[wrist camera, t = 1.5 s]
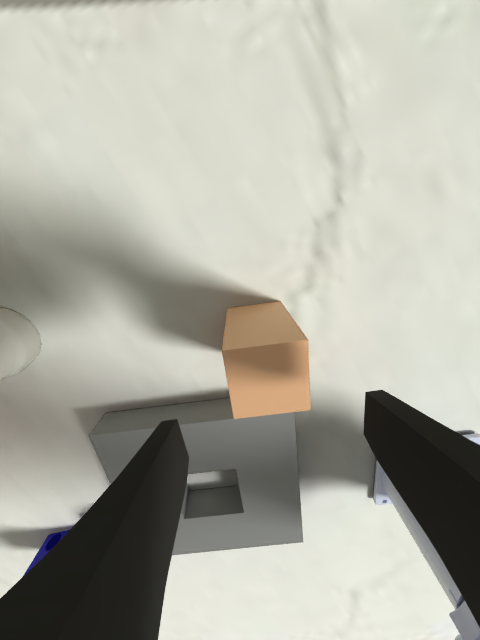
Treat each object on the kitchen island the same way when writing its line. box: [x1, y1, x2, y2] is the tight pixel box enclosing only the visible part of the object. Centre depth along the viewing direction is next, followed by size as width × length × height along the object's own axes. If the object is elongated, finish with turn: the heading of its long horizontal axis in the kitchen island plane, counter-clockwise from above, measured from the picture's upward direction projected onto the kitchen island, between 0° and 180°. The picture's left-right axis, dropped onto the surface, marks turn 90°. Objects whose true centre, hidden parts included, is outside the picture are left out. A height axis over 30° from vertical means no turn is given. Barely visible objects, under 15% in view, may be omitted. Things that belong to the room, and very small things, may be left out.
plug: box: [222, 301, 311, 419], centre depth 15 cm, size 4×4×7 cm
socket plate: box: [89, 398, 303, 555], centre depth 21 cm, size 16×16×2 cm
